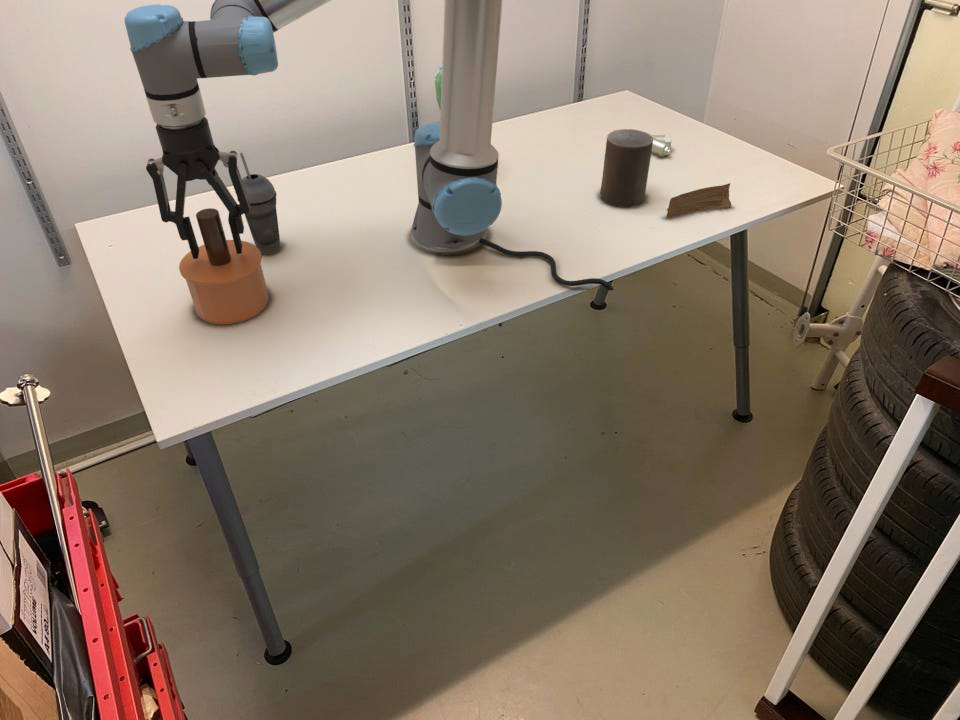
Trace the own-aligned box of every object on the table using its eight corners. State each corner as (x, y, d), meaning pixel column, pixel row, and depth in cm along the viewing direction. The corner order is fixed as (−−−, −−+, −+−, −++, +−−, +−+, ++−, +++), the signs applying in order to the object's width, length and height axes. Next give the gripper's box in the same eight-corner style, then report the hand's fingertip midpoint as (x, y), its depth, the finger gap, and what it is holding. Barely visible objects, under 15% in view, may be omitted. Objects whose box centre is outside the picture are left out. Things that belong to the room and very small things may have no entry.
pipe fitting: (671, 159, 175) (666, 146, 179) (674, 145, 172) (669, 131, 177) (638, 160, 175) (634, 146, 179) (640, 145, 172) (636, 131, 177)
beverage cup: (278, 259, 141) (257, 163, 128) (244, 256, 142) (219, 160, 129) (293, 240, 146) (274, 146, 133) (259, 237, 148) (237, 143, 135)
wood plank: (669, 221, 151) (673, 200, 148) (664, 217, 153) (668, 195, 149) (730, 207, 156) (735, 186, 152) (724, 203, 157) (729, 182, 154)
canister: (281, 289, 133) (272, 250, 128) (244, 330, 124) (232, 289, 119) (221, 278, 136) (210, 239, 131) (181, 317, 127) (167, 276, 122)
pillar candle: (625, 212, 154) (634, 145, 145) (590, 196, 160) (597, 130, 150) (653, 197, 159) (664, 132, 149) (619, 182, 165) (627, 118, 155)
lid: (276, 252, 128) (265, 200, 122) (234, 294, 118) (219, 240, 112) (210, 240, 132) (195, 189, 125) (164, 280, 122) (145, 227, 115)
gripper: (108, 136, 104) (155, 271, 119) (246, 123, 107) (276, 256, 122) (116, 116, 109) (161, 247, 124) (247, 105, 113) (276, 234, 128)
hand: (218, 251), depth 123 cm, fingers open, 6 cm apart
